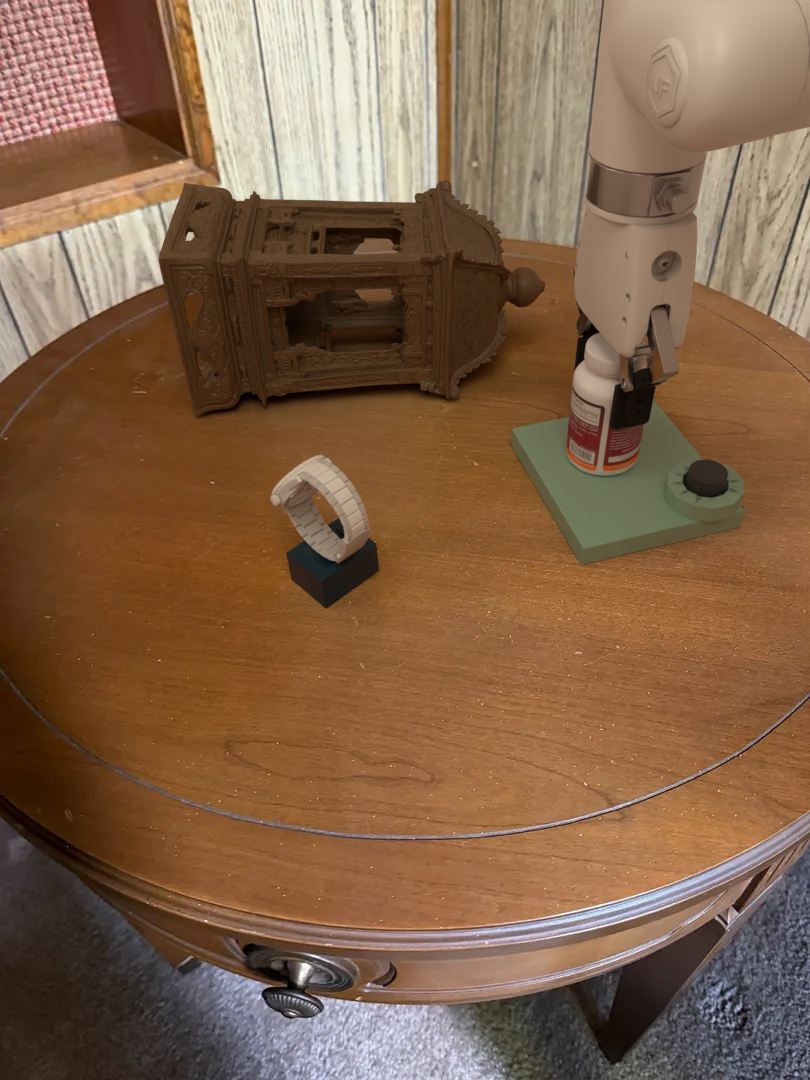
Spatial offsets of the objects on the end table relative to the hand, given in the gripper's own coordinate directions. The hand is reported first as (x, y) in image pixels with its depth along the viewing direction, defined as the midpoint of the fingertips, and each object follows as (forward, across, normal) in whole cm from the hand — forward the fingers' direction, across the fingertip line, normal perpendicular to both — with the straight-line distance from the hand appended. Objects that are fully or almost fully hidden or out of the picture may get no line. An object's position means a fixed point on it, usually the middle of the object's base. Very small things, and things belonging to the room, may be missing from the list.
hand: (609, 398), depth 69 cm
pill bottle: (+6, 0, 0) cm, 6 cm away
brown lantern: (+8, +23, +15) cm, 29 cm away
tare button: (+5, -7, -5) cm, 10 cm away
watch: (+8, -5, +25) cm, 27 cm away
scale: (+8, -2, -1) cm, 8 cm away
